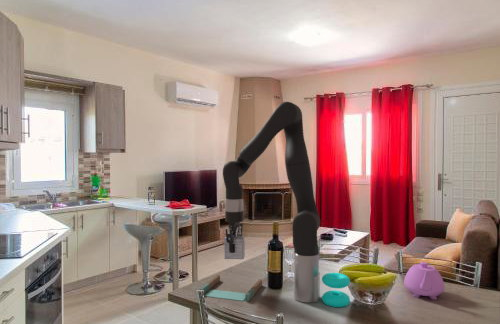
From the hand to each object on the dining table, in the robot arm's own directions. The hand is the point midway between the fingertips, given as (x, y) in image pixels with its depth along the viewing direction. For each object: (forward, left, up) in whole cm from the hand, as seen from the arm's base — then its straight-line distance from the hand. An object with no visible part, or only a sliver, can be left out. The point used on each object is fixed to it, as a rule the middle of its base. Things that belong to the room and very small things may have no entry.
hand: (234, 250), depth 149 cm
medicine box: (0, 0, -3) cm, 3 cm away
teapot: (-73, -15, -15) cm, 76 cm away
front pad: (0, +9, -15) cm, 18 cm away
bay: (0, +3, -15) cm, 16 cm away
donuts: (-41, +3, -15) cm, 44 cm away
